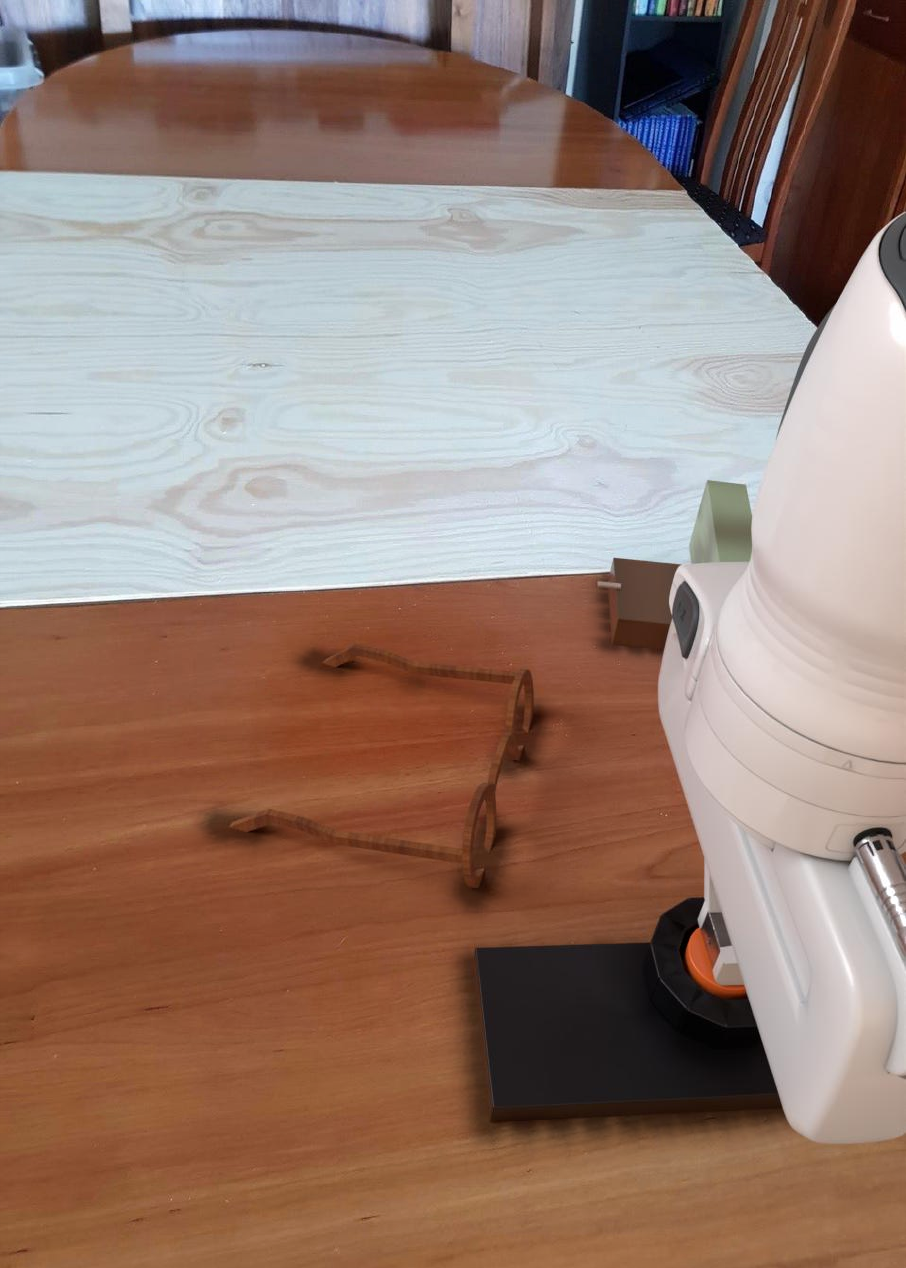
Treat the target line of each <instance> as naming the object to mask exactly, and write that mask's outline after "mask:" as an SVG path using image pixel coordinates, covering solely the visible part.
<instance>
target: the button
mask: <svg viewBox="0 0 906 1268" xmlns="http://www.w3.org/2000/svg"><path fill="white" fill-rule="evenodd" d="M682 963H683V966H684V970H685V972H686V973H687V974H688V975H689V976H690V977H691V978H692V979H693V981H694V982H695V983H696V984H697V985H698V986H699V987H700V988H701V989H702V990H704V991H707V992H709V993H711V994H713V995H716V996H718V997H720V998H722V999H725V1000H730V999H749V998H748V995H747V992H746V988H745V985H724V986H721V985H719V984H717V983H716V981H715V978H714V975H713V971H712V967H711V963H710V960H709V956H708V952H707V950H706V947H705V943H704V940H703V937H702V934H701V931H700V927H699V928H698V929H696V930H695V931H694V932H693V934H692V935H691V937H690V940H689V942H688V945H687V947H686V950H685V952H684V955H683V957H682Z"/></svg>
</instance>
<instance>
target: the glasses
mask: <svg viewBox="0 0 906 1268" xmlns="http://www.w3.org/2000/svg"><path fill="white" fill-rule="evenodd" d="M357 657H362V658H366V659H370V660H374V661H376V662H377V661H378V662H382V663H386V664H389V665H391V666H393V667H396V668H398V669H401V670H403V671H406V672H407V673H411V674H413V675H418V676H426V677H427V676H428V677H438V678H448V679H458V680H466V681H468V680H469V681H478V682H488V683H489V682H490V683H497V684H505V685H506V684H507V685H508V684H509V685H511V688H510V692H509V697H508V702H507V708H506V715H505V723H504V724H505V725H504V727H505V729H504V730H505V731H504V733H503V734H502V735H501V737H500V739H499V742H498V745H497V748H496V750H495V753H494V756H493V759H492V762H491V765H490V768H489V773H488V778H487V782H482V783H480V784H479V785H478V786H477V787H476V788H475V789H476V790H475V791H474V793H473V796H472V797H471V801H470V804H469V807H468V810H467V814H466V818H465V824H464V828H463V837H462V847H461V848H459V847H451V846H445V845H440V844H439V845H438V844H432V843H425V842H418V841H411V840H405V839H397V838H392V837H391V838H390V837H383V836H378V835H372V834H371V835H370V834H364V833H357V832H351V831H344V830H343V831H342V830H337V829H334V828H332V827H329V826H327V825H325V824H322V823H319V822H317V821H315V820H312V819H309V818H307V817H304V816H300V815H297V814H292V813H288V812H283V811H280V810H276V809H272V808H268V809H266V810H262V811H259V812H257V813H253V814H251V815H248V816H246V817H242V818H239V819H237V820H233V821H232V822H231V823H230V824H229V826H228V828H229V829H230V828H231V829H233V830H237V831H240V832H245V833H248V832H250V831H255V830H257V829H259V828H264V827H265V826H268V825H271V824H276V825H279V826H282V827H283V826H284V827H287V828H290V829H293V830H294V829H295V830H298V831H301V832H305V833H307V834H310V835H312V836H315V837H317V838H319V839H321V840H325V841H327V842H330V843H331V844H334V845H338V846H343V847H349V848H350V847H351V848H357V849H363V850H370V851H376V852H377V851H378V852H382V853H390V854H395V855H396V854H397V855H403V856H409V857H415V858H422V859H423V858H424V859H430V860H436V861H443V862H450V863H455V864H461V867H462V875H463V879H464V883H465V885H466V886H467V887H468V888H471V889H480V888H479V887H480V884H481V881H482V879H483V875H484V872H485V869H486V868H485V867H483V868H478V869H475V865H474V840H475V834H476V833H475V832H476V827H477V822H478V818H479V815H480V813H481V810H482V806H483V804H484V803H485V811H486V826H485V827H486V829H485V838H484V843H483V848H484V849H485V850H486V851H487V852H488V853H489V854H490V853H491V850H492V847H493V844H494V841H495V837H496V834H497V799H496V792H497V791H496V789H497V786H498V781H499V778H500V774H501V772H502V768H503V766H504V763H505V761H506V760H505V759H506V756H507V754H508V757H509V759H510V760H512V761H520V759H521V757H522V753H523V750H524V747H525V744H521V745H518V744H517V737H516V736H517V735H516V718H517V717H516V716H517V709H518V703H519V699H520V694H521V691H522V688H523V690H524V714H523V720H522V721H523V722H522V730H523V731H524V732H526V733H527V734H528V733H529V730H530V727H531V725H532V722H533V718H534V701H535V700H534V699H535V696H534V694H535V693H534V691H535V690H534V681H533V675H532V672H531V670H530V669H529V668H519V670H517V671H511V670H510V671H509V670H500V669H490V668H480V667H470V666H460V665H451V664H450V665H448V664H439V663H429V662H418V661H414V660H411V659H409V658H406V657H404V656H400V655H398V654H397V653H393V652H390V651H387V650H385V649H380V648H375V647H371V646H367V645H360V644H357V643H355V644H352V645H351V646H348V647H347V648H344V649H343V650H341V651H339V652H337V653H335V654H333V655H331V656H329V657H327V658H325V659H324V660H323V661H322V662H321V664H324V665H327V666H330V667H333V668H337V667H339V666H341V665H343V664H345V663H346V662H347V663H348V662H349V661H351V660H352V659H353V660H354V659H355V658H357Z"/></svg>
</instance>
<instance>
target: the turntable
mask: <svg viewBox="0 0 906 1268" xmlns="http://www.w3.org/2000/svg"><path fill="white" fill-rule="evenodd" d="M611 562H612V563H611V568H610V572H609V575H608V580H607V581H601V580H598V581H597V587H598V588H607V592H608V593H607V594H608V605H609V606H608V607H609V619H610V620H609V621H610V622H609V623H610V635H611V645H613V646H622V647H632V648H642V649H643V648H644V649H653V650H662V651H664V648H665V644H666V640H667V636H668V632H669V628H670V624H671V621H672V614H671V610H670V606H669V596H670V591H671V586H672V582H673V579H674V576H675V573H676V571H677V569H678V567H679V566H680V565H683V564H681V563H670V562H661V561H651V560H644V559H643V560H641V559H631V558H622V557H613V558H612V561H611Z"/></svg>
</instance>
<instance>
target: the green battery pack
mask: <svg viewBox="0 0 906 1268" xmlns="http://www.w3.org/2000/svg"><path fill="white" fill-rule="evenodd" d="M751 508H752V507H751V504H750V498H749V493H748V488H747V484H745V483H735V482H728V481H721V480H719V481H718V480H711V479H707V480H706V482H705V485H704V489H703V493H702V497H701V501H700V503H699V508H698V512H697V514H696V519H695V523H694V526H693V528H692V529H693V530H692V533H691V537H690V540H689V543H688V547H689V549H688V550H689V557H690V564H698V563H715V562H750V559H751V553H752V533H751V526H752V514H753V512H752V509H751Z"/></svg>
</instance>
